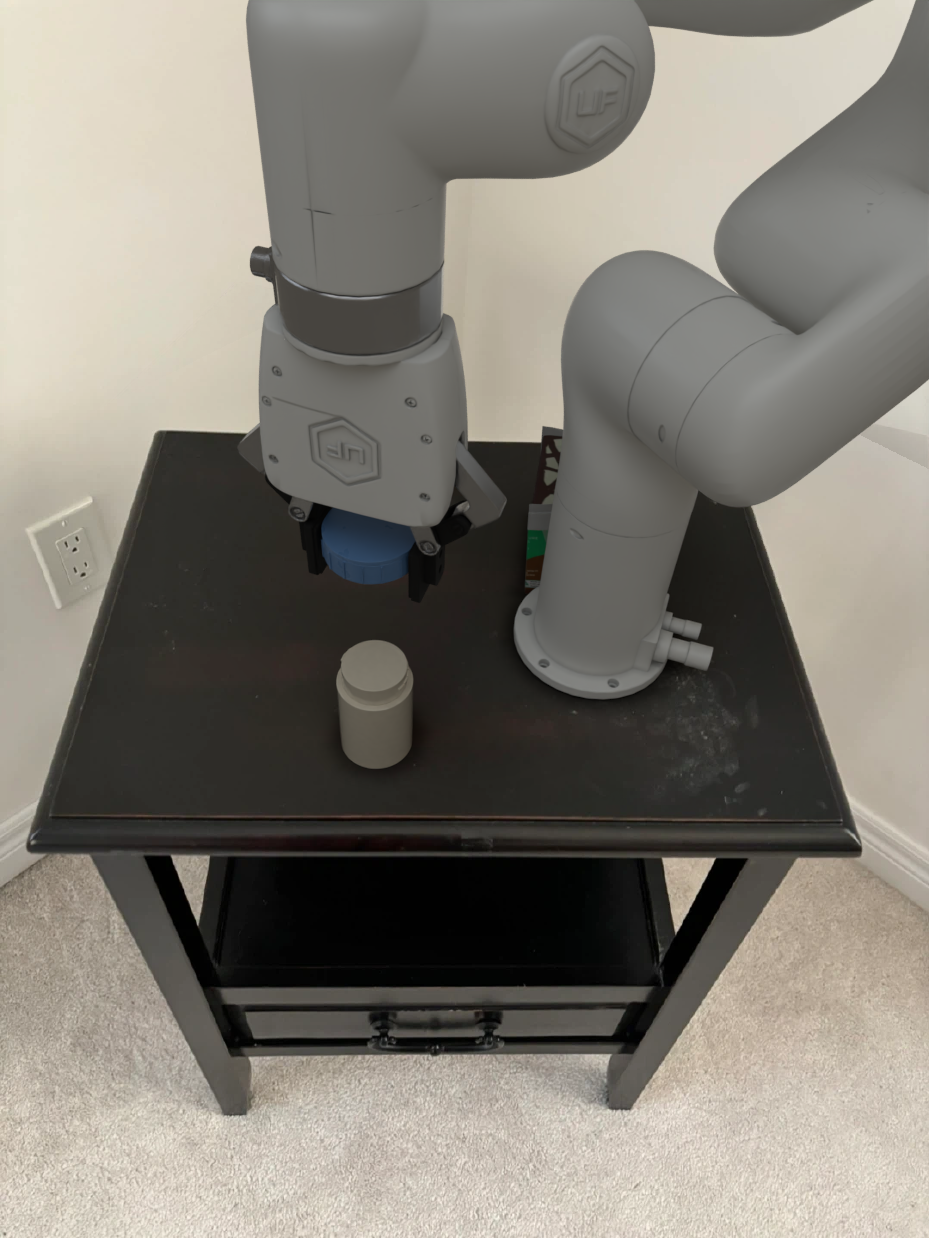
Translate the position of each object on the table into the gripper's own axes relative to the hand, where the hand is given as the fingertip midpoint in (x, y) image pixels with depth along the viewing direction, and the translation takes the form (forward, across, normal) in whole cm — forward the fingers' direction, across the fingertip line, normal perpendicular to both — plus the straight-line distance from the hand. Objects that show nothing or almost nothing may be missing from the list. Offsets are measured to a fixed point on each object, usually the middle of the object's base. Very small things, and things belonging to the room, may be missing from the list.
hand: (373, 570), depth 56 cm
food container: (+18, +8, +23) cm, 30 cm away
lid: (-3, 0, 0) cm, 3 cm away
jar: (+17, 0, 0) cm, 17 cm away
